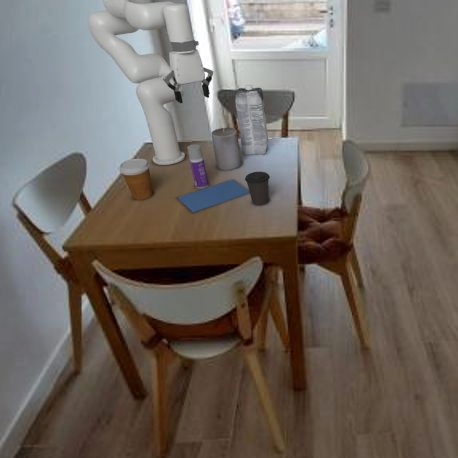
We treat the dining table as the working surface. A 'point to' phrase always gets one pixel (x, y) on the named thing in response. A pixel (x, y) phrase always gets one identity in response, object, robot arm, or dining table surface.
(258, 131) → the juice carton
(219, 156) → the pillar candle
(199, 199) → the napkin
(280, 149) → the dining table surface
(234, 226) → the dining table surface
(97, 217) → the dining table surface
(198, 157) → the container
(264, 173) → the coffee cup
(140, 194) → the disposable coffee cup
